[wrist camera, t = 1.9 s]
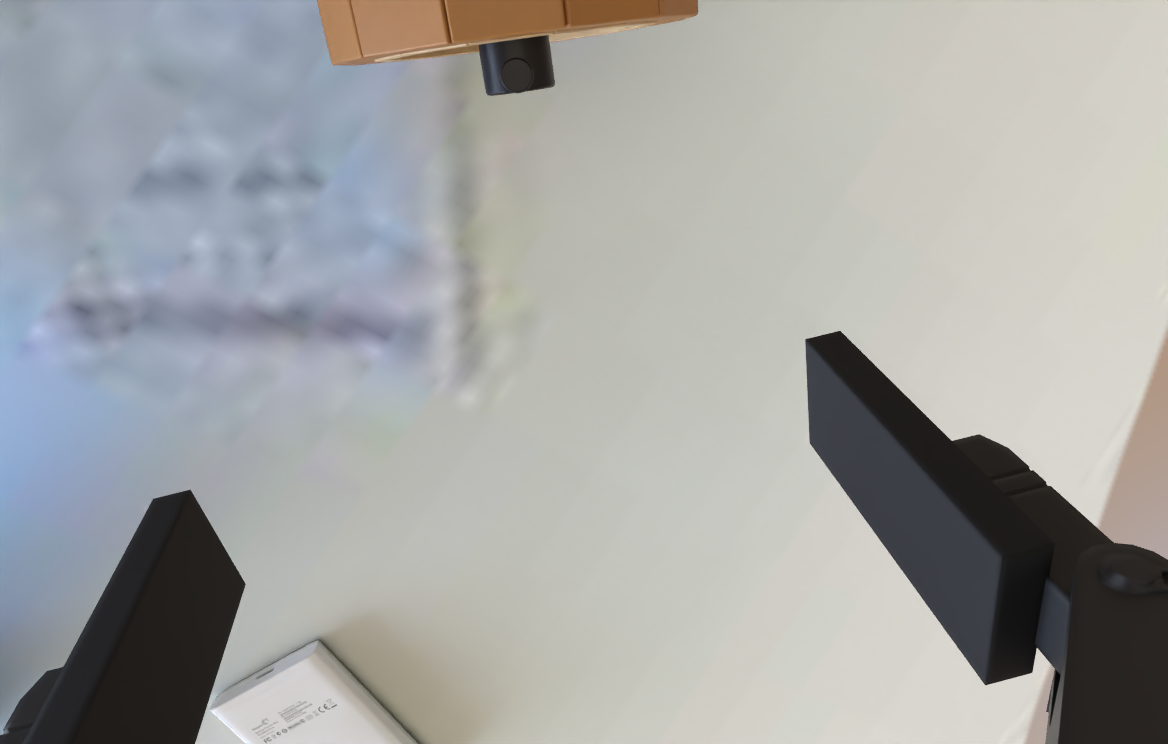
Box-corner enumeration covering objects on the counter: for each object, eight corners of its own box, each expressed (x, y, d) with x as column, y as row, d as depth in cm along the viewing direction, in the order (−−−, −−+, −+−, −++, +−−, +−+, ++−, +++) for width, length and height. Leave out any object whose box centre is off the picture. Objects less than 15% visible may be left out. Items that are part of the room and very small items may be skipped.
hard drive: (340, 807, 53) (217, 693, 48) (437, 758, 51) (320, 636, 47) (334, 829, 51) (206, 713, 47) (434, 780, 50) (312, 656, 45)
